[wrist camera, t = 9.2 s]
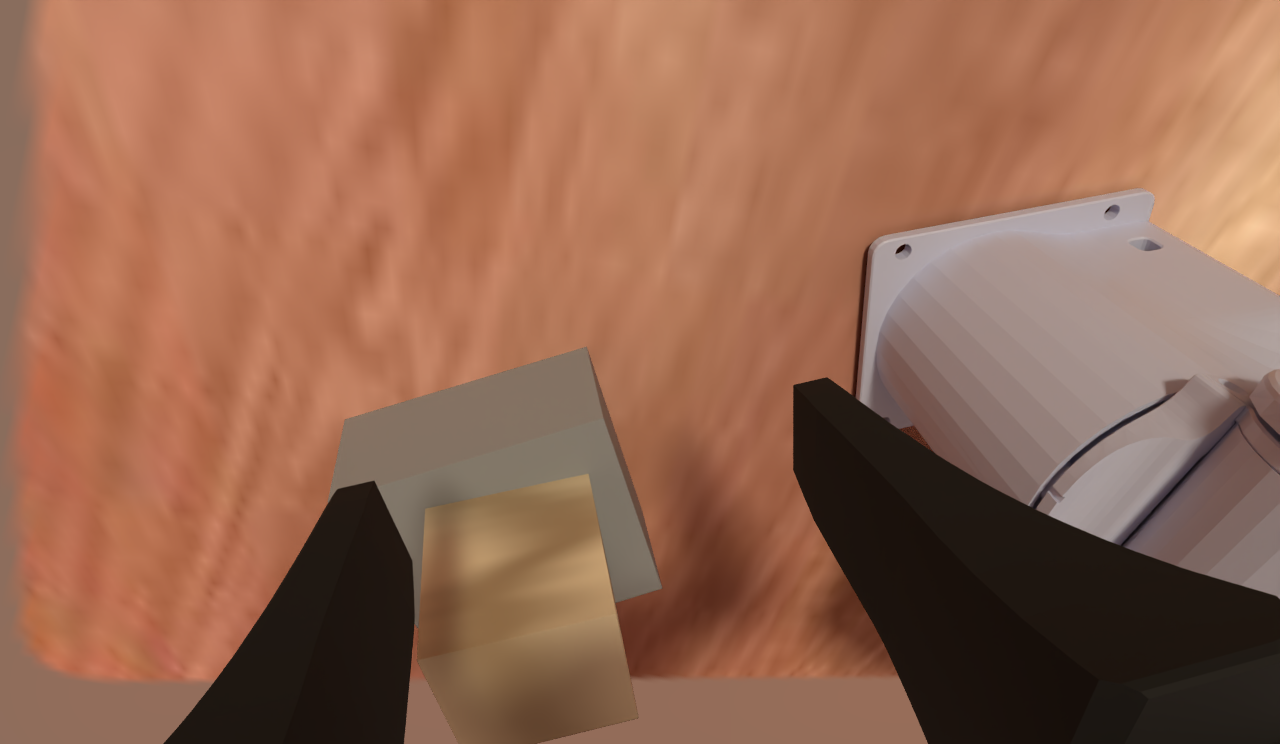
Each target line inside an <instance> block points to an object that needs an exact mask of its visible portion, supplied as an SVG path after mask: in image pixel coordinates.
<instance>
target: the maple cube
mask: <svg viewBox="0 0 1280 744" xmlns="http://www.w3.org/2000/svg"><path fill="white" fill-rule="evenodd" d="M417 662H418V664H419V666H420V668H421V670H422V672H423V674H424V676H425V678H426V680H427V682H428V684H429V686H430V687H431V690H432V692H433V694H434V696H435V698H436V700H437V702H438V704H439V705H440V708H441V709H442V712H443V714H444V716H445V717H446V720H447V722H448V724H449V726H450V727H451V730H452V732H453V733H454V736H455V738H456V739H457V742H458V743H459V744H537V743H540V742H545V741H549V740H553V739H557V738H561V737H565V736H569V735H573V734H577V733H581V732H585V731H589V730H593V729H597V728H601V727H605V726H609V725H613V724H618V723H622V722H626V721H630V720H634V719H638V713H637V708H636V703H635V698H634V693H633V688H632V683H631V678H630V673H629V668H628V663H627V658H626V653H625V648H624V643H623V638H622V633H621V628H620V623H619V618H618V613H617V608H616V603H615V598H614V593H613V588H612V583H611V578H610V573H609V569H608V564H607V559H606V554H605V550H604V545H603V540H602V535H601V531H600V526H599V521H598V516H597V512H596V507H595V502H594V497H593V493H592V488H591V483H590V478H589V474H585V475H580V476H575V477H571V478H566V479H561V480H556V481H552V482H547V483H542V484H538V485H533V486H528V487H524V488H519V489H514V490H510V491H505V492H500V493H496V494H491V495H486V496H482V497H477V498H473V499H468V500H463V501H459V502H454V503H449V504H445V505H440V506H436V507H431V508H426V509H425V521H424V539H423V557H422V575H421V593H420V611H419V629H418V647H417Z"/></svg>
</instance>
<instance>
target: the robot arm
mask: <svg viewBox="0 0 1280 744" xmlns="http://www.w3.org/2000/svg"><path fill="white" fill-rule="evenodd" d="M1154 201H1155V198H1154V195H1153V194H1152V193H1150V192H1149V191H1147V190H1145V189H1143V188H1136V189H1131V190H1126V191H1120V192H1115V193H1110V194H1104V195H1099V196H1093V197H1088V198H1083V199H1077V200H1072V201H1067V202H1061V203H1056V204H1050V205H1045V206H1040V207H1034V208H1029V209H1024V210H1018V211H1013V212H1008V213H1002V214H997V215H991V216H986V217H981V218H975V219H970V220H965V221H959V222H954V223H949V224H943V225H938V226H932V227H927V228H922V229H916V230H911V231H906V232H900V233H895V234H889V235H884V236H882V237H879V238H878V239H876V240H875V241H874V242H873V243H872V244H871V246H870V248H869V251H868V259H867V271H866V283H865V295H864V307H863V318H862V330H861V342H860V354H859V366H858V377H857V389H856V398H855V397H854V396H852V395H851V394H850V393H848V392H847V391H845V390H844V389H843V388H841V387H840V386H839V385H837V384H836V383H834V382H833V381H832V380H830V379H829V378H822V379H818V380H813V381H809V382H805V383H800V384H796V385H793V470H794V473H795V475H796V478H797V480H798V483H799V485H800V488H801V490H802V493H803V495H804V498H805V500H806V502H807V505H808V507H809V509H810V512H811V514H812V516H813V519H814V521H815V523H816V524H817V526H818V528H819V530H820V532H821V533H822V535H823V537H824V539H825V540H826V542H827V544H828V546H829V547H830V549H831V551H832V553H833V554H834V556H835V558H836V560H837V561H838V563H839V565H840V567H841V568H842V570H843V572H844V574H845V575H846V577H847V579H848V581H849V582H850V584H851V586H852V588H853V589H854V591H855V593H856V594H857V596H858V598H859V600H860V601H861V603H862V605H863V607H864V608H865V610H866V612H867V614H868V615H869V617H870V619H871V621H872V622H873V624H874V626H875V628H876V630H877V632H878V633H879V635H880V637H881V639H882V641H883V643H884V645H885V647H886V649H887V651H888V653H889V655H890V658H891V660H892V662H893V664H894V667H895V669H896V671H897V673H898V675H899V678H900V680H901V682H902V684H903V686H904V689H905V691H906V693H907V696H908V698H909V700H910V702H911V705H912V707H913V709H914V712H915V714H916V716H917V718H918V721H919V723H920V726H921V728H922V730H923V732H924V735H925V737H926V740H927V742H928V744H1280V296H1279V295H1277V294H1276V293H1274V292H1272V291H1270V290H1269V289H1267V288H1265V287H1263V286H1262V285H1260V284H1258V283H1256V282H1255V281H1253V280H1251V279H1249V278H1247V277H1246V276H1244V275H1242V274H1240V273H1239V272H1237V271H1235V270H1233V269H1232V268H1230V267H1228V266H1226V265H1225V264H1223V263H1221V262H1219V261H1217V260H1216V259H1214V258H1212V257H1210V256H1209V255H1207V254H1205V253H1203V252H1202V251H1200V250H1198V249H1196V248H1195V247H1193V246H1191V245H1189V244H1188V243H1186V242H1184V241H1182V240H1180V239H1179V238H1177V237H1175V236H1173V235H1172V234H1170V233H1168V232H1166V231H1165V230H1163V229H1161V228H1159V227H1158V226H1156V225H1154V224H1152V223H1150V222H1149V218H1150V215H1151V212H1152V209H1153V206H1154ZM1110 206H1111V207H1110ZM1109 207H1110V209H1109V211H1108V212H1107V213H1106V214H1104V213H1105V211H1106V210H1107V209H1108V208H1109ZM904 244H906V246H905V248H904V250H903V251H902V252H900V253H898V254H895V253H896V250H897V249H898V248H899V247H900V246H901V245H904ZM884 417H885V418H884ZM910 426H915V428H916V429H917V430H918V432H919V433H920V434H921V436H922V437H923V438H924V440H925V441H926V442H927V444H928V445H929V446H930V448H931V449H932V450H933V452H932V451H931V450H929V449H928V448H926V447H925V446H923V445H922V444H920V443H919V442H917V441H916V440H914V439H913V438H911V437H910V436H908V435H907V434H905V433H904V432H902V431H901V430H899V429H900V428H905V427H910ZM414 622H415V606H414V581H413V561H412V559H411V556H410V554H409V552H408V550H407V548H406V546H405V544H404V542H403V540H402V538H401V535H400V533H399V531H398V529H397V527H396V525H395V523H394V521H393V519H392V517H391V514H390V512H389V510H388V508H387V506H386V504H385V502H384V500H383V498H382V495H381V493H380V491H379V489H378V487H377V485H376V483H375V481H370V482H365V483H361V484H357V485H352V486H348V487H343V488H339V489H337V490H336V491H335V493H334V494H333V496H332V497H331V499H330V501H329V503H328V504H327V506H326V508H325V509H324V511H323V513H322V515H321V517H320V518H319V520H318V522H317V524H316V525H315V527H314V529H313V531H312V532H311V534H310V536H309V538H308V539H307V541H306V543H305V544H304V546H303V548H302V550H301V551H300V553H299V555H298V557H297V558H296V560H295V562H294V563H293V565H292V567H291V568H290V570H289V571H288V573H287V575H286V576H285V578H284V580H283V581H282V583H281V585H280V586H279V588H278V589H277V591H276V593H275V594H274V596H273V598H272V599H271V601H270V602H269V604H268V605H267V607H266V609H265V610H264V612H263V613H262V615H261V616H260V618H259V619H258V620H257V622H256V623H255V625H254V626H253V628H252V629H251V631H250V632H249V634H248V635H247V637H246V638H245V640H244V641H243V643H242V644H241V646H240V647H239V649H238V650H237V652H236V653H235V654H234V656H233V657H232V659H231V660H230V661H229V663H228V664H227V665H226V667H225V668H224V670H223V671H222V672H221V674H220V675H219V676H218V678H217V679H216V680H215V682H214V683H213V684H212V686H211V687H210V688H209V690H208V691H207V692H206V693H205V695H204V696H203V697H202V698H201V700H200V701H199V702H198V703H197V705H196V706H195V707H194V709H193V710H192V711H191V712H190V714H189V715H188V716H187V717H186V718H185V720H184V721H183V722H182V723H181V724H180V725H179V727H178V728H177V729H176V730H175V731H174V732H173V733H172V735H171V736H170V737H169V738H168V739H167V740H166V742H164V744H404V734H405V725H406V713H407V702H408V692H409V681H410V670H411V659H412V647H413V635H414Z"/></svg>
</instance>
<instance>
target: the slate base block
mask: <svg viewBox="0 0 1280 744" xmlns="http://www.w3.org/2000/svg"><path fill="white" fill-rule="evenodd" d="M585 474H589V478H590V483H591V488H592V493H593V497H594V502H595V507H596V512H597V516H598V521H599V526H600V531H601V535H602V540H603V545H604V550H605V554H606V559H607V564H608V569H609V573H610V578H611V583H612V588H613V593H614V598H615V603H617V602H620V601H623V600H626V599H630V598H633V597H636V596H639V595H643V594H646V593H649V592H652V591H656V590H659V589H662V585H661V581H660V577H659V574H658V570H657V566H656V562H655V558H654V554H653V550H652V547H651V543H650V539H649V535H648V531H647V527H646V524H645V520H644V516H643V512H642V509H641V506H640V503H639V500H638V497H637V494H636V491H635V488H634V485H633V482H632V479H631V477H630V474H629V471H628V468H627V465H626V462H625V459H624V456H623V453H622V450H621V447H620V444H619V441H618V438H617V435H616V432H615V429H614V426H613V423H612V420H611V417H610V414H609V411H608V409H607V406H606V403H605V400H604V397H603V394H602V391H601V388H600V385H599V382H598V379H597V376H596V373H595V370H594V367H593V364H592V361H591V358H590V355H589V352H588V349H587V347H584V348H581V349H577V350H574V351H571V352H567V353H564V354H561V355H558V356H554V357H551V358H548V359H544V360H541V361H538V362H534V363H531V364H528V365H524V366H521V367H518V368H514V369H511V370H508V371H504V372H501V373H498V374H494V375H491V376H488V377H485V378H481V379H478V380H475V381H471V382H468V383H465V384H461V385H458V386H455V387H451V388H448V389H445V390H441V391H438V392H435V393H431V394H428V395H425V396H422V397H418V398H415V399H412V400H408V401H405V402H402V403H398V404H395V405H392V406H388V407H385V408H382V409H378V410H375V411H372V412H368V413H365V414H362V415H358V416H355V417H352V418H349V419H345V421H344V426H343V431H342V436H341V441H340V445H339V450H338V455H337V460H336V465H335V469H334V474H333V479H332V484H331V489H330V494H329V498H328V503H329V501H330V499H331V497H332V496H333V494H334V493H335V491H336V490H337V489H339V488H343V487H348V486H352V485H357V484H361V483H365V482H370V481H375V483H376V485H377V487H378V489H379V491H380V493H381V495H382V498H383V500H384V502H385V504H386V506H387V508H388V510H389V512H390V514H391V517H392V519H393V521H394V523H395V525H396V527H397V529H398V531H399V533H400V535H401V538H402V540H403V542H404V544H405V546H406V548H407V550H408V552H409V554H410V556H411V559H412V561H413V581H414V606H415V622H414V624H415V625H416V626H417V628H418V629H419V611H420V593H421V575H422V557H423V539H424V521H425V509H426V508H431V507H436V506H440V505H445V504H449V503H454V502H459V501H463V500H468V499H473V498H477V497H482V496H486V495H491V494H496V493H500V492H505V491H510V490H514V489H519V488H524V487H528V486H533V485H538V484H542V483H547V482H552V481H556V480H561V479H566V478H571V477H575V476H580V475H585Z"/></svg>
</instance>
